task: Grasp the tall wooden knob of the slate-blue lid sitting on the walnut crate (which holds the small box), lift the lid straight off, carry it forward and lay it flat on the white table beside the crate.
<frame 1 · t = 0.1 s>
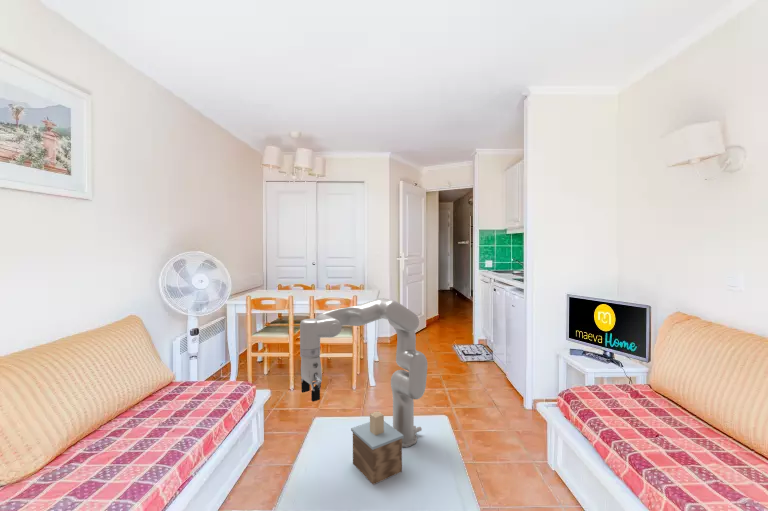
hand: (310, 395, 132), 31 cm above the table, fingers open, 9 cm apart
small box: (376, 468, 138), resting in crate
lid: (376, 434, 138), point 13 cm above the table, touching crate
crate: (376, 467, 138), on the table
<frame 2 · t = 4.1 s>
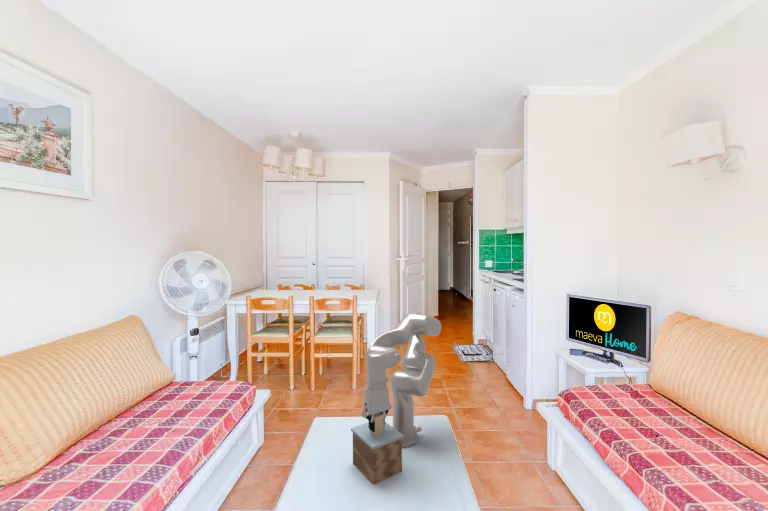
hand: (376, 428, 138), 16 cm above the table, fingers closed on lid, 4 cm apart
lid: (376, 434, 138), point 14 cm above the table, touching crate, gripper
everything else where it was.
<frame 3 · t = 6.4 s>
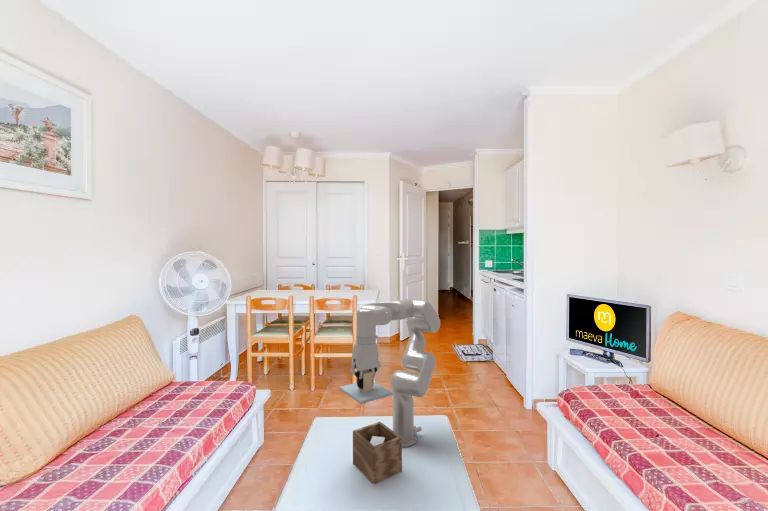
hand: (365, 386, 135), 34 cm above the table, fingers closed on lid, 4 cm apart
lid: (365, 392, 135), point 31 cm above the table, touching gripper
everything else where it was.
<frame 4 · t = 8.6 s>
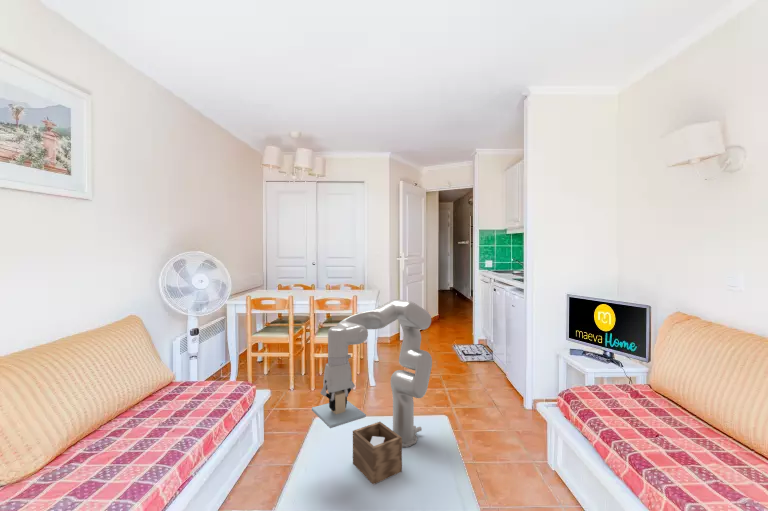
hand: (338, 407, 130), 28 cm above the table, fingers closed on lid, 4 cm apart
lid: (338, 413, 130), point 25 cm above the table, touching gripper
everything else where it was.
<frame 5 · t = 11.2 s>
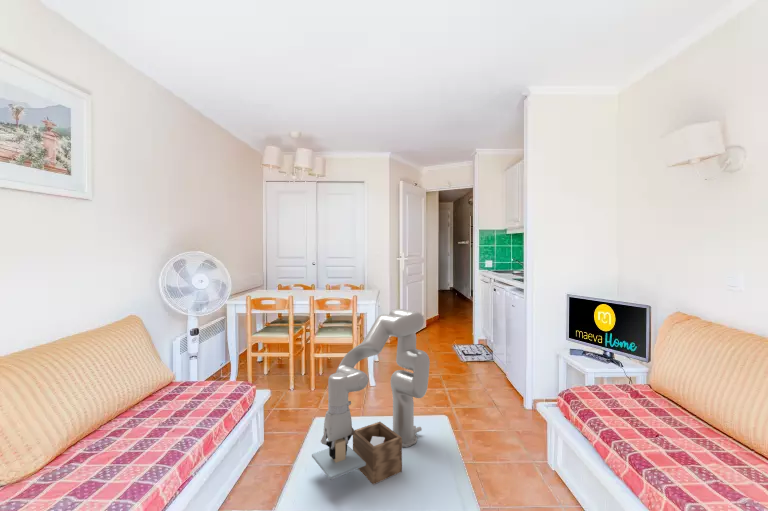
hand: (338, 454, 130), 10 cm above the table, fingers closed on lid, 4 cm apart
lid: (338, 460, 130), point 7 cm above the table, touching gripper
everything else where it was.
when the fingers open (4 cm above the table, at t = 13.4 s): lid stays where it is, point 1 cm above the table.
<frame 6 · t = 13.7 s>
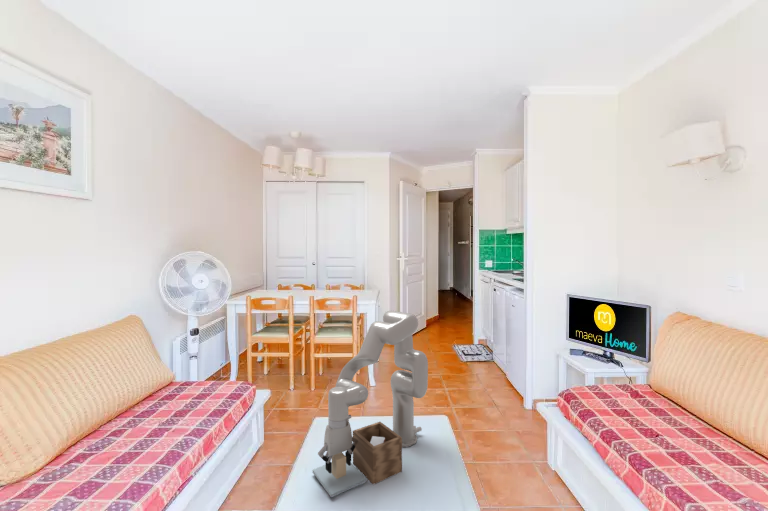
hand: (338, 467, 130), 5 cm above the table, fingers open, 7 cm apart
lid: (338, 476, 130), point 1 cm above the table
everything else where it was.
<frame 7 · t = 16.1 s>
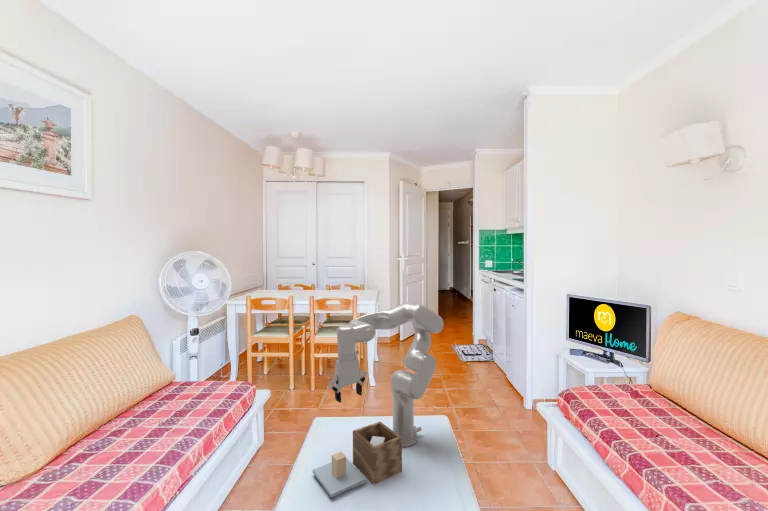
hand: (349, 397, 140), 27 cm above the table, fingers open, 9 cm apart
nothing on the table moved.
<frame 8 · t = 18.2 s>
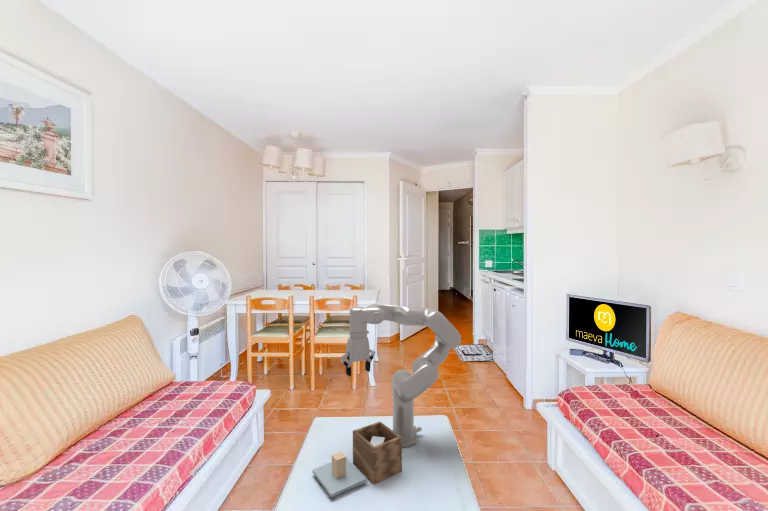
hand: (358, 373, 153), 32 cm above the table, fingers open, 9 cm apart
nothing on the table moved.
at the end: lid inside the target area (0.8 cm from its centre), point 1.2 cm above the table; lid tilted 0°; the gripper is holding nothing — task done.
